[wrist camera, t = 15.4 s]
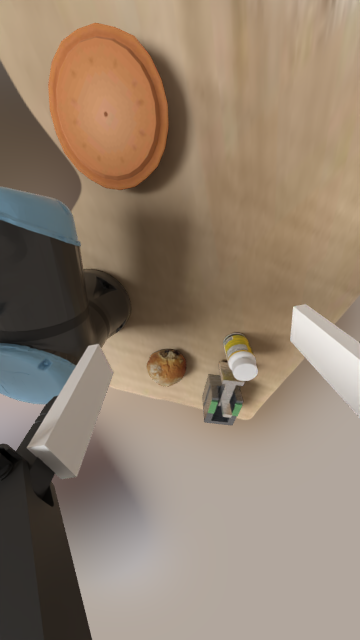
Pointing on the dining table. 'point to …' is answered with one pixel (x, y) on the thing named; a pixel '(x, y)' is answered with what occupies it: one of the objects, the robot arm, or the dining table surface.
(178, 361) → the bread roll
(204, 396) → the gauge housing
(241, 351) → the supplement bottle
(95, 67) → the pie
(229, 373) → the plunger
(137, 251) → the dining table surface
